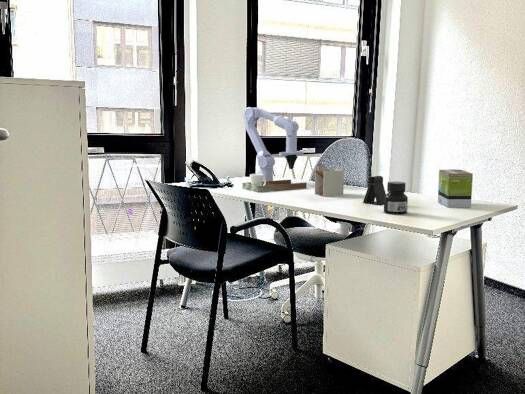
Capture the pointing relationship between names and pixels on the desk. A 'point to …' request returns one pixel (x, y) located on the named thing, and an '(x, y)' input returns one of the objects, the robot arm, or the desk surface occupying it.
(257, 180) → the cup
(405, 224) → the desk surface
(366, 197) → the black binoculars
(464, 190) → the tea box
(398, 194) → the ink bottle
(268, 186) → the trap box
